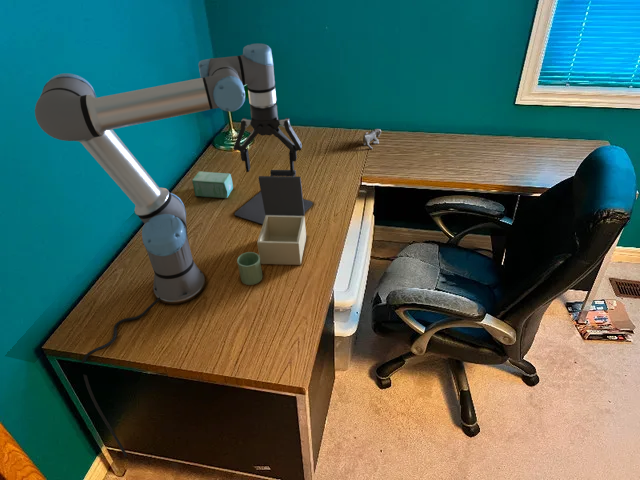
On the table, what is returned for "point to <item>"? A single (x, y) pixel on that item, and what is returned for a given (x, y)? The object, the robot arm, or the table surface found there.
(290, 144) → the robot arm
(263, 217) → the mouse pad
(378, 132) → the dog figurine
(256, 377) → the table surface
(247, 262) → the green cup
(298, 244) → the open square bin
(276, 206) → the bin lid
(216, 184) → the box
